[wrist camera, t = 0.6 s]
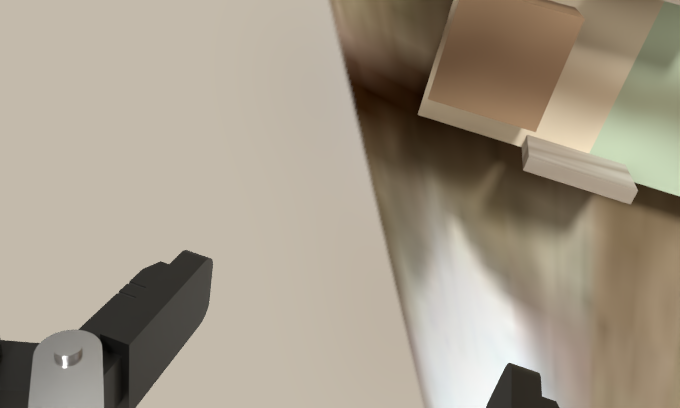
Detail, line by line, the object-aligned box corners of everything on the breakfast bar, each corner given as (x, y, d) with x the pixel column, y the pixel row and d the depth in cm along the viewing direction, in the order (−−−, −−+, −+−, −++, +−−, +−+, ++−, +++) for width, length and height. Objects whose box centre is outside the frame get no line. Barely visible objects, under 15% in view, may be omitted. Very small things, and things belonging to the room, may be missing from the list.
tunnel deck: (477, -72, 29) (471, -72, 24) (891, 36, 26) (974, 60, 22) (422, 105, 34) (408, 134, 29) (766, 211, 31) (812, 262, 27)
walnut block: (469, -22, 28) (463, -15, 25) (575, 7, 28) (584, 18, 24) (436, 80, 31) (427, 99, 28) (532, 109, 30) (535, 132, 27)
